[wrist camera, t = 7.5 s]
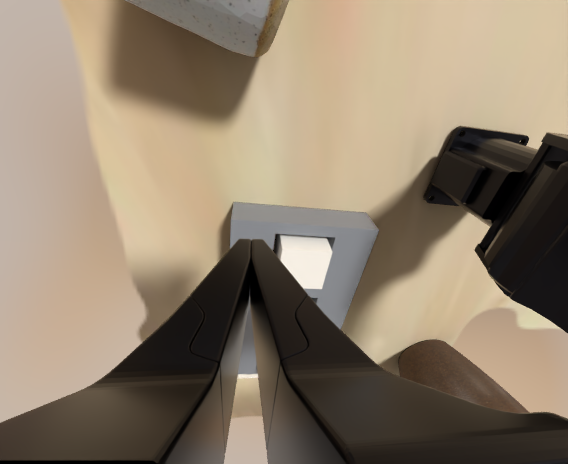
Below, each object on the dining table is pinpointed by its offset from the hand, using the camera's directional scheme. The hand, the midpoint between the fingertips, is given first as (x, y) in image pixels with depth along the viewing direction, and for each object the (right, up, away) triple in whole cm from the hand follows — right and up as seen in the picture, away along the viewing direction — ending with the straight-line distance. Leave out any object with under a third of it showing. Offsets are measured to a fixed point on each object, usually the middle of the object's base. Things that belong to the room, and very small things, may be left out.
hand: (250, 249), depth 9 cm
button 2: (+2, 0, +15) cm, 16 cm away
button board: (+1, -6, +19) cm, 20 cm away
